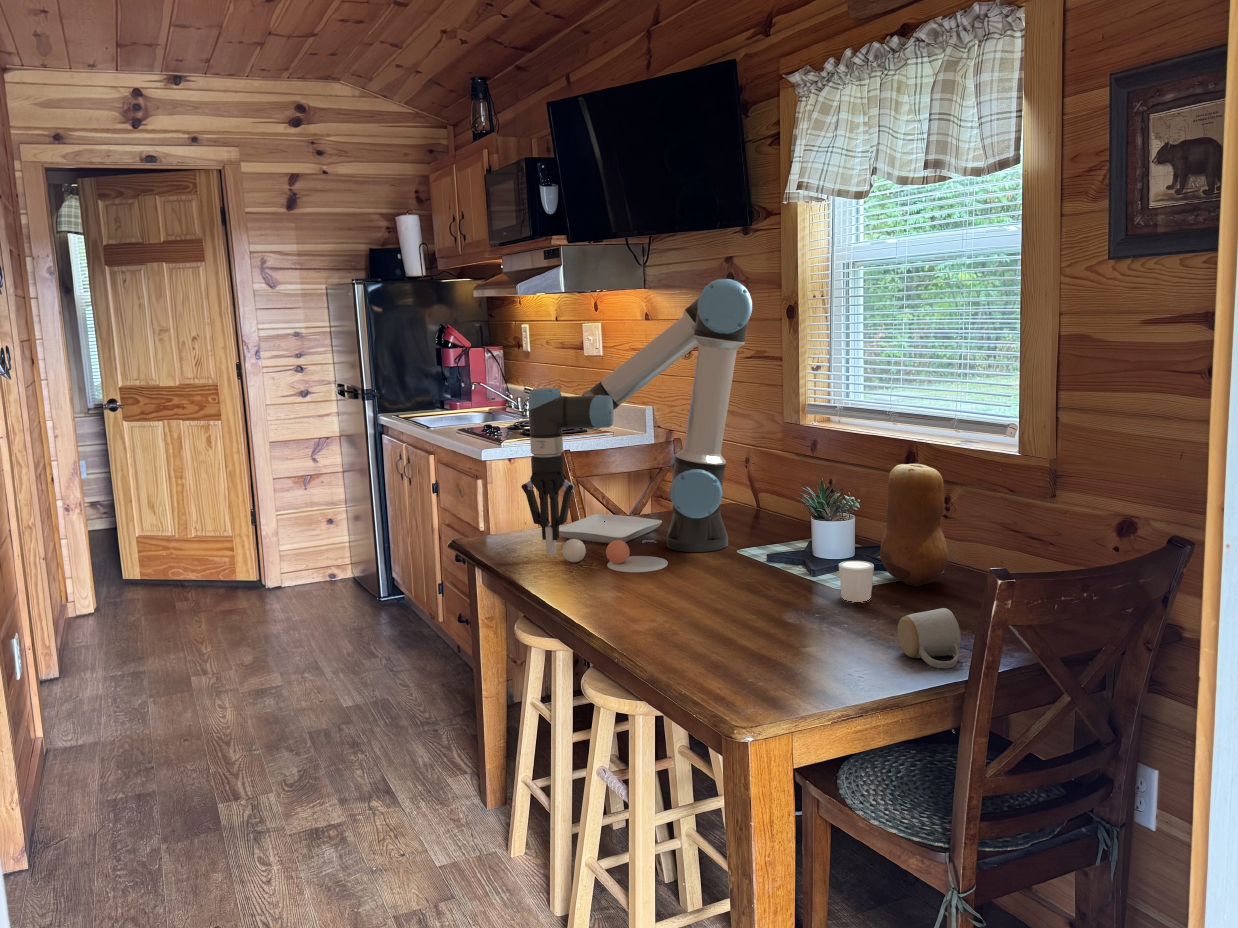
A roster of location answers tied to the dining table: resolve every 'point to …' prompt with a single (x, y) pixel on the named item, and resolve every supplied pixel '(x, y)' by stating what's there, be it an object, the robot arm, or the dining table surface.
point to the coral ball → (617, 552)
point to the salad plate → (608, 528)
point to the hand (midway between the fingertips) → (551, 553)
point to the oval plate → (639, 564)
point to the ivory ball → (574, 550)
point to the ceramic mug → (930, 636)
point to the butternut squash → (914, 525)
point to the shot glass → (856, 580)
